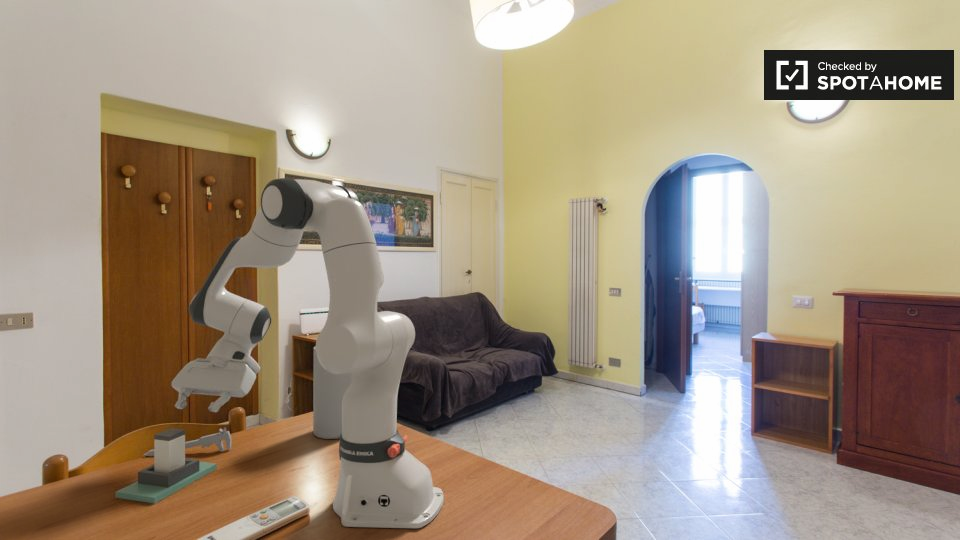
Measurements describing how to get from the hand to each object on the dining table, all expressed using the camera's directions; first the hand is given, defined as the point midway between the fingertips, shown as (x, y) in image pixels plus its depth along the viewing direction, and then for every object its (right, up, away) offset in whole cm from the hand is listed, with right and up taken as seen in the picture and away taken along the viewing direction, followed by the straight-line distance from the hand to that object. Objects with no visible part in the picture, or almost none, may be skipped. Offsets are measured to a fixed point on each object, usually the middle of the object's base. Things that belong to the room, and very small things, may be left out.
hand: (195, 409), depth 107 cm
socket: (-2, -14, -6) cm, 16 cm away
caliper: (-8, -15, +9) cm, 19 cm away
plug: (-2, -13, -6) cm, 15 cm away
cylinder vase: (+26, -14, +24) cm, 38 cm away
